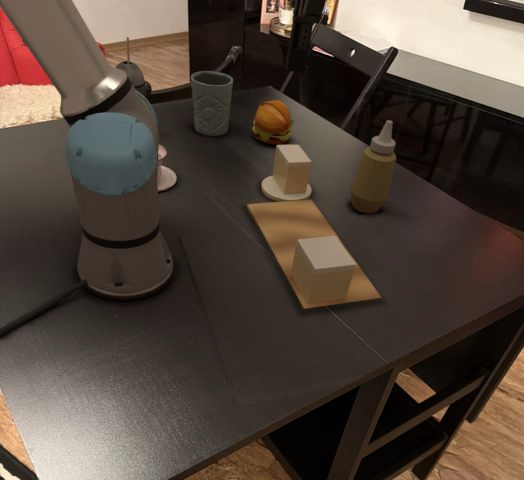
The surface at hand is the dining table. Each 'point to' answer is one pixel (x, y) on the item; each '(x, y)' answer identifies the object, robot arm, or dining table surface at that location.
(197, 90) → the drinking glass
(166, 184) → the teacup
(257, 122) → the cheeseburger
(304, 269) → the cake
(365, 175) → the squeeze bottle
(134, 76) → the beverage cup
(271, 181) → the plate
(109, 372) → the dining table surface
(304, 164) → the cake slice
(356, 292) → the serving board
